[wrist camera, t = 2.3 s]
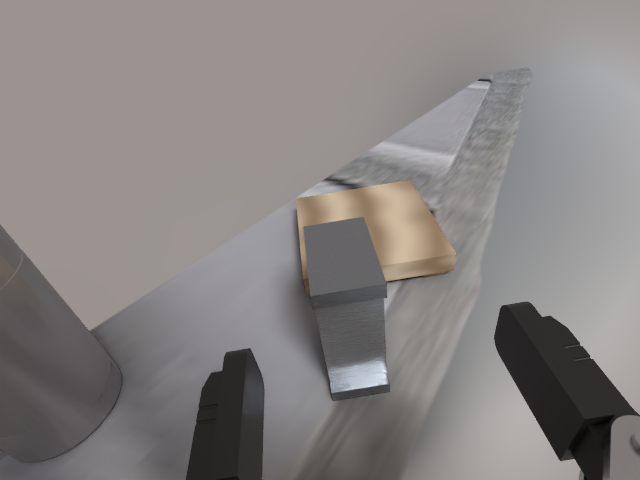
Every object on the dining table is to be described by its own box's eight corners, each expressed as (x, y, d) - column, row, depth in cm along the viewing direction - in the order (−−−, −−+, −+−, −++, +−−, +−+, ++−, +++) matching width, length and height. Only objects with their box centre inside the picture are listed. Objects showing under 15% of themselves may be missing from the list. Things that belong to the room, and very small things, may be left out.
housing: (333, 401, 29) (310, 296, 21) (323, 329, 34) (303, 226, 27) (389, 391, 29) (386, 283, 21) (371, 321, 34) (363, 216, 27)
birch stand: (307, 299, 37) (302, 278, 35) (299, 217, 49) (296, 198, 47) (453, 275, 37) (455, 253, 35) (410, 199, 49) (410, 179, 47)
